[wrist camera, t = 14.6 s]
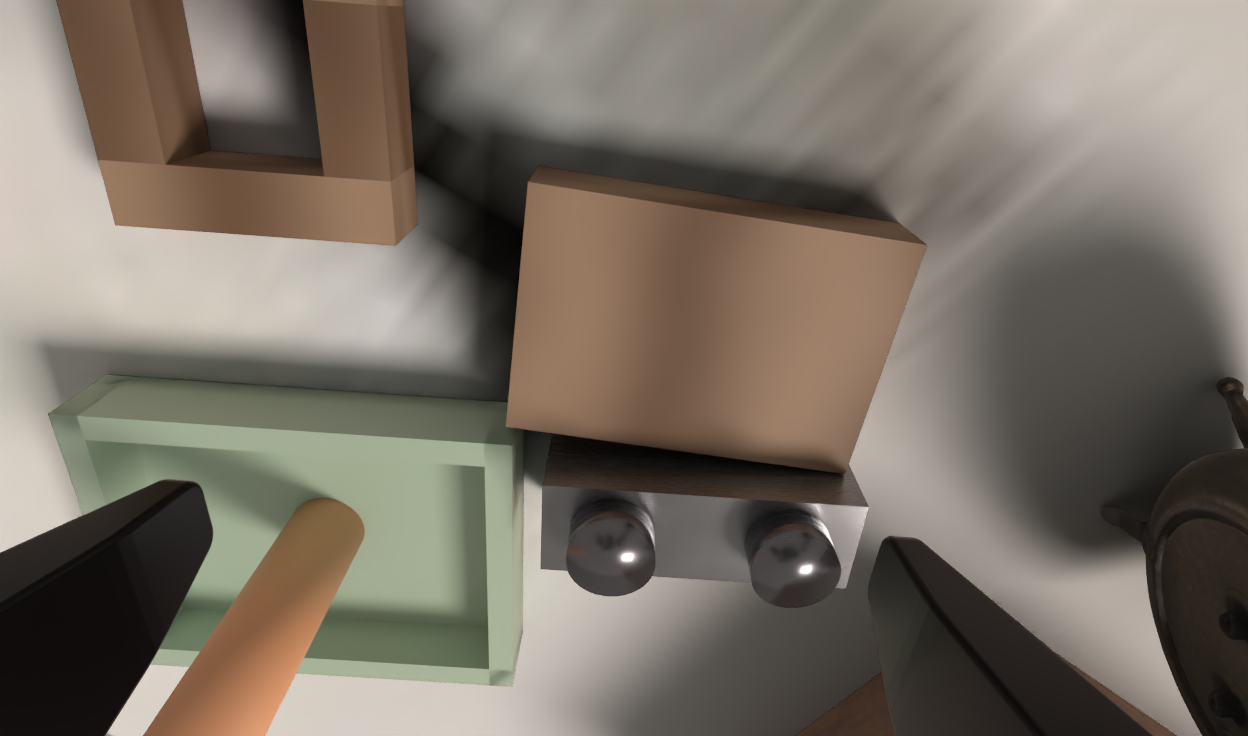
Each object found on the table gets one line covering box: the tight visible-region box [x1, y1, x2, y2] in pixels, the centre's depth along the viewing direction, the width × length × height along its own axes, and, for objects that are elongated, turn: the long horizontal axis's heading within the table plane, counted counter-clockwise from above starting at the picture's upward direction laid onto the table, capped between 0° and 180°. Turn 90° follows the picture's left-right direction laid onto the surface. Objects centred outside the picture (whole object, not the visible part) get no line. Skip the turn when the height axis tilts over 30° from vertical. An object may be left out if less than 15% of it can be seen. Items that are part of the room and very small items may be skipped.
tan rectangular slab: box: [506, 166, 927, 474], centre depth 20 cm, size 10×7×2 cm
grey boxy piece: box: [541, 433, 869, 608], centre depth 21 cm, size 9×3×5 cm, turn 86°
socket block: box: [56, 0, 418, 246], centre depth 17 cm, size 7×7×2 cm
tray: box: [48, 375, 524, 687], centre depth 23 cm, size 13×10×2 cm
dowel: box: [143, 498, 365, 736], centre depth 19 cm, size 2×2×9 cm
